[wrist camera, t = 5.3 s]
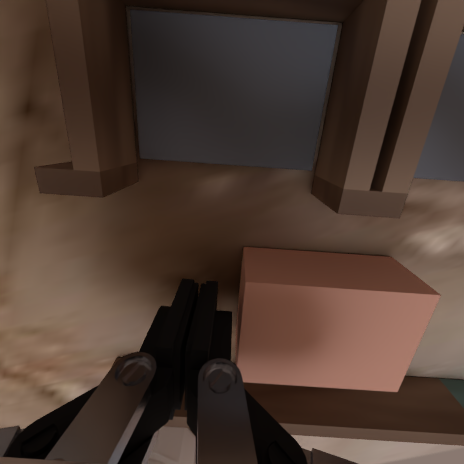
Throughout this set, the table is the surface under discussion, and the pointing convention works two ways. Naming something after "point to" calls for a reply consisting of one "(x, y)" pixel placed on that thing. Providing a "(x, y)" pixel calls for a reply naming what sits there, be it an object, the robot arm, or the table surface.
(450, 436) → the box
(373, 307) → the block
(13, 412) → the table surface
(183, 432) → the white cup
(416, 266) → the table surface
